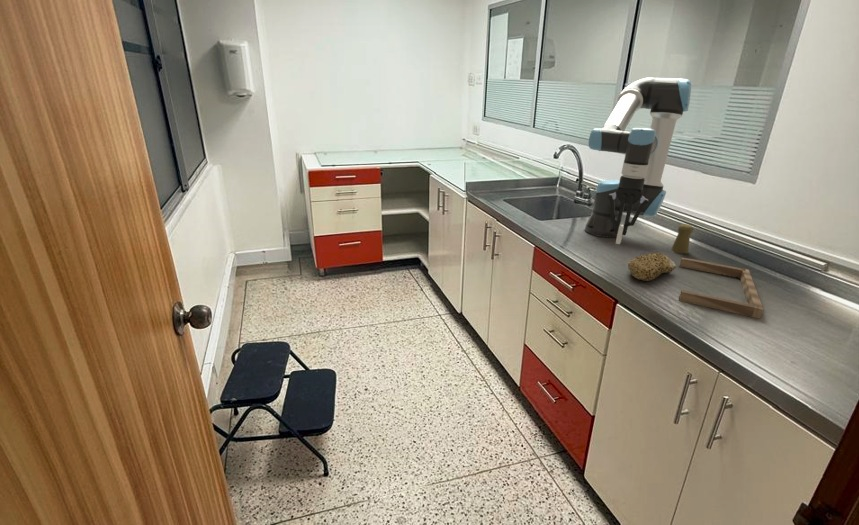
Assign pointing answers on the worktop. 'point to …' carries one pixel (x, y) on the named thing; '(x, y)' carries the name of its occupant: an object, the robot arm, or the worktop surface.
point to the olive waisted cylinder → (682, 239)
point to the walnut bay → (749, 309)
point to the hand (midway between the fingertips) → (618, 242)
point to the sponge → (650, 266)
